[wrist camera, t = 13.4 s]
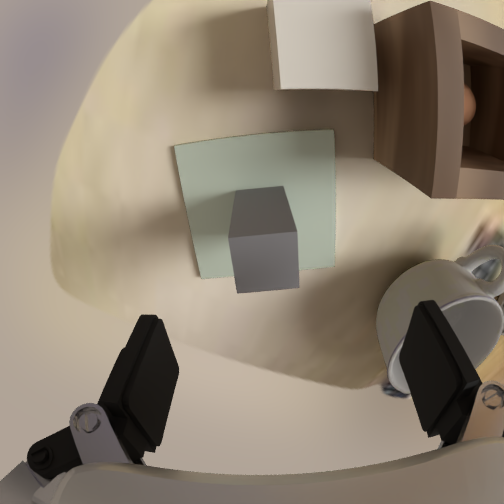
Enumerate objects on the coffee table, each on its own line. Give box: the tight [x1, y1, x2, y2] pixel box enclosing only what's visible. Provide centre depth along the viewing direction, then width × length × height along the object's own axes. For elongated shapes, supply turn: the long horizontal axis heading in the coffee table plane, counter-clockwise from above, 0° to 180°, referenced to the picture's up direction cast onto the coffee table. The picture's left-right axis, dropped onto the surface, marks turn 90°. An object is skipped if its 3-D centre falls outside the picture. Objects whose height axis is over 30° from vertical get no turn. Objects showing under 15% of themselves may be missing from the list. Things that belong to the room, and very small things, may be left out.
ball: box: [464, 83, 476, 125], centre depth 14 cm, size 3×3×3 cm
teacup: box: [376, 245, 504, 394], centre depth 21 cm, size 14×11×8 cm
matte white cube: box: [266, 0, 378, 91], centre depth 14 cm, size 5×6×5 cm
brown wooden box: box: [373, 1, 504, 200], centre depth 13 cm, size 10×10×8 cm
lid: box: [174, 129, 336, 293], centre depth 18 cm, size 10×10×8 cm
